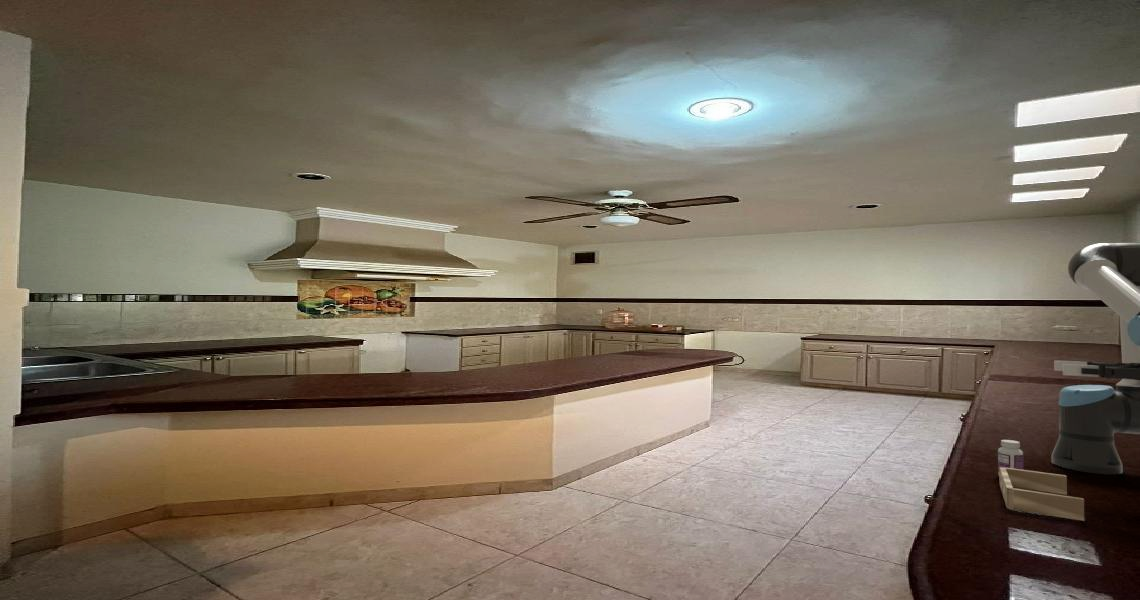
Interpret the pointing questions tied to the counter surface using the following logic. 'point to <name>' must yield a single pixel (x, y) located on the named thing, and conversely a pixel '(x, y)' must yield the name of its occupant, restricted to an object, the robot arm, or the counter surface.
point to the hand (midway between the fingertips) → (1058, 367)
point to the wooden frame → (1039, 493)
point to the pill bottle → (1010, 455)
